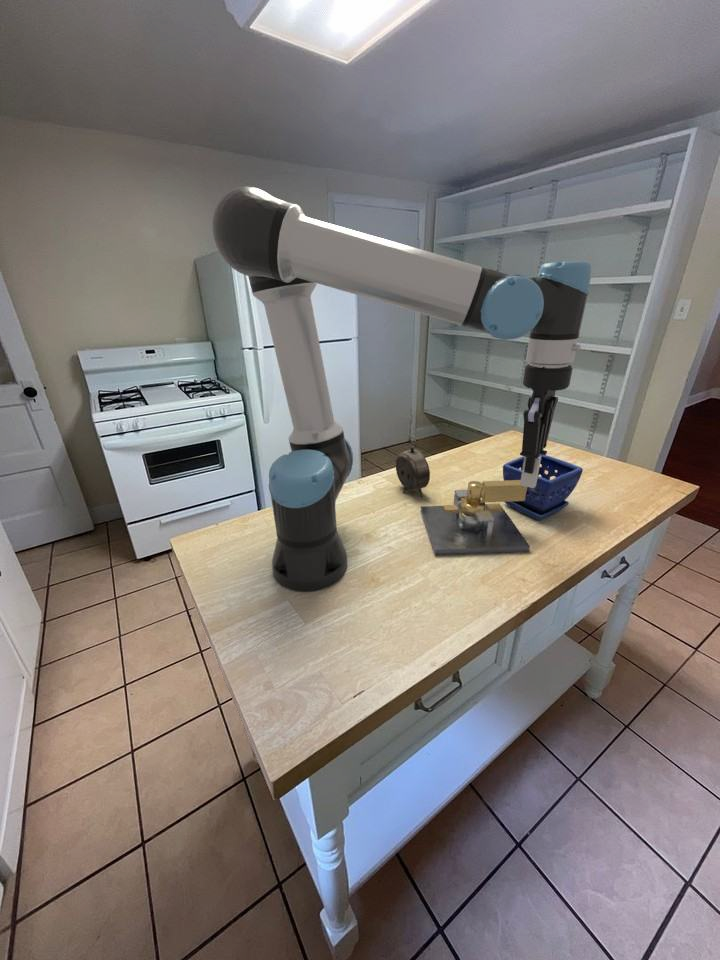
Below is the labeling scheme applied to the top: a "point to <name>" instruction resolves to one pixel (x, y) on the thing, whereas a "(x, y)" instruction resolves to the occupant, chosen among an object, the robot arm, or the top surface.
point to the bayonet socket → (471, 531)
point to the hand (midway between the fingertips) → (527, 485)
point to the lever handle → (488, 496)
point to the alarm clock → (412, 469)
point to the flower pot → (544, 486)
